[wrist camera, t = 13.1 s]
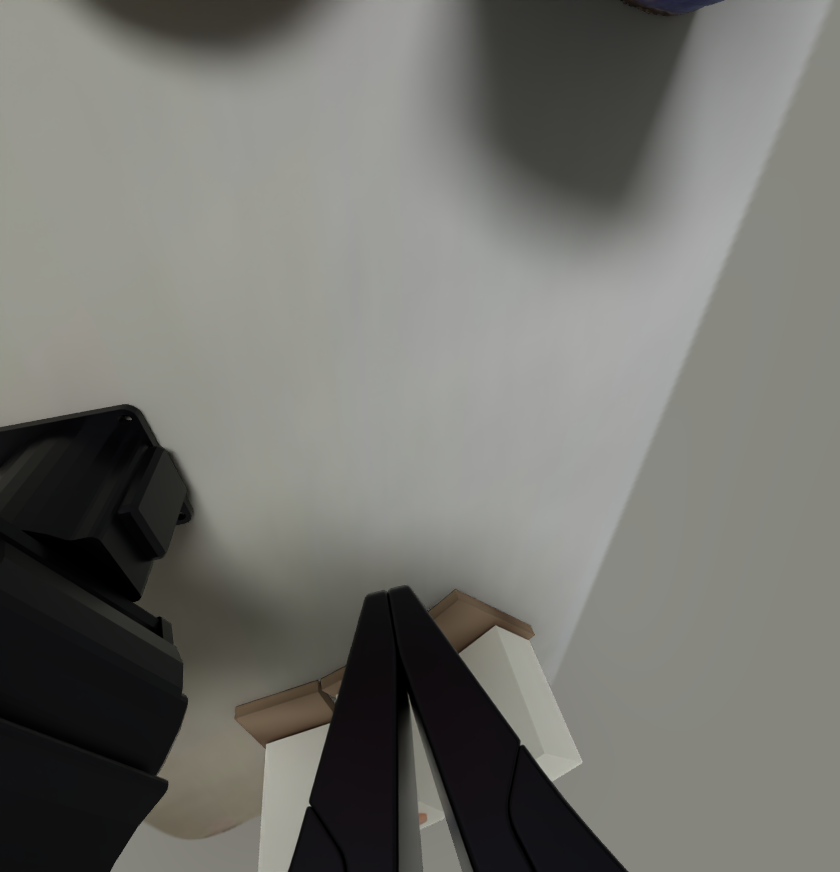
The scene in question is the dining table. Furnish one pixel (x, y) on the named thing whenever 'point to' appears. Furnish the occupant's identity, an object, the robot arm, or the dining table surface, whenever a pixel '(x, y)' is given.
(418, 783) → the two-bump white pillar
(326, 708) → the tile tracks
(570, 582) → the dining table surface
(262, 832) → the three-dot tile
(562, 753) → the white pillar with knob
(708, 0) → the flask
